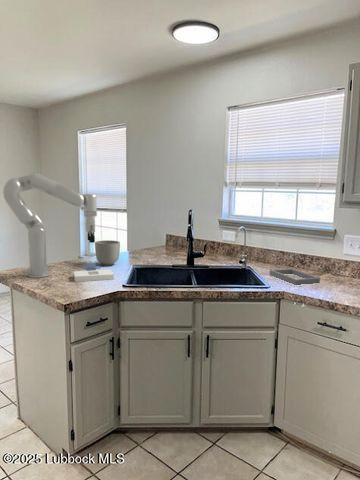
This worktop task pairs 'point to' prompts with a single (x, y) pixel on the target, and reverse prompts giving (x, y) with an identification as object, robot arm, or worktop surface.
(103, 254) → the planter
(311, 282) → the frame
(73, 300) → the worktop surface
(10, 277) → the worktop surface
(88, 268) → the servo block
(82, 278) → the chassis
